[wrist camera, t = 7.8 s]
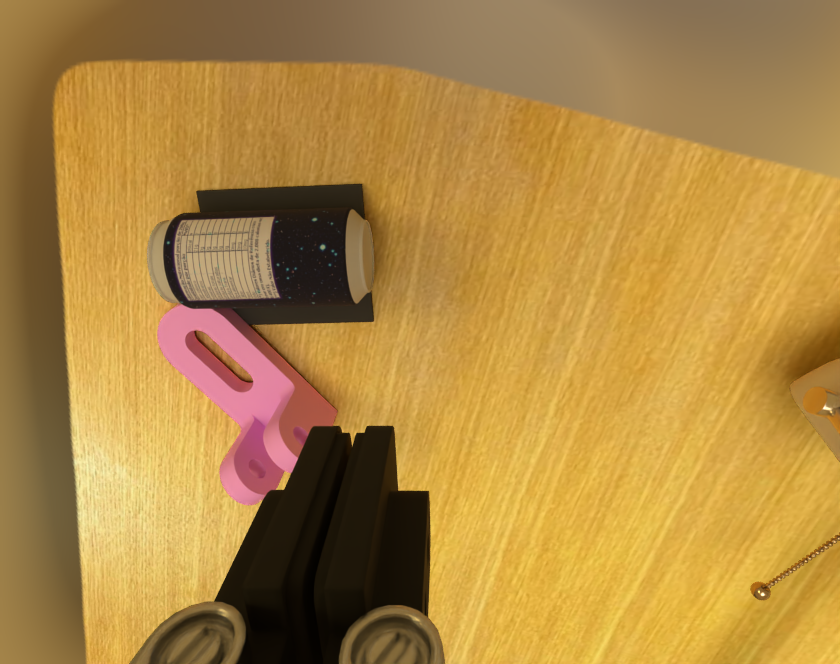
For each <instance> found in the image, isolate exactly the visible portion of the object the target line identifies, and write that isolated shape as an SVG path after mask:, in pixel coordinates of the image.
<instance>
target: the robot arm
mask: <svg viewBox="0 0 840 664" xmlns="http://www.w3.org/2000/svg"><path fill="white" fill-rule="evenodd" d="M429 577H430V501H429V491H398V481H397V465H396V448H395V433H394V427H393V426H367V427H366V430H365V433H356V436H355V439H354V443H353V446H352V444H351V436H350V434H349V433H342V430H341V427H340V426H313V427H312V428H311V430H310V432H309V434H308V437H307V439H306V441H305V444H304V446H303V448H302V450H301V453H300V455H299V457H298V460H297V462H296V464H295V466H294V469H293V471H292V473H291V476H290V478H289V480H288V482H287V485H286V487H285V489H284V490H270V491H269V492H268V493H267V494H266V496H265V497H264V499H263V501H262V503H261V505H260V507H259V510H258V512H257V514H256V516H255V518H254V520H253V522H252V524H251V526H250V528H249V530H248V532H247V534H246V536H245V539H244V541H243V543H242V545H241V547H240V549H239V551H238V553H237V555H236V557H235V559H234V561H233V563H232V566H231V568H230V570H229V572H228V574H227V576H226V578H225V580H224V582H223V584H222V586H221V588H220V590H219V592H218V595H217V597H216V599H215V601H214V602H203V603H199V604H195V605H191V606H189V607H187V608H185V609H183V610H181V611H179V612H176V613H175V614H173V615H172V616H171V617H169V618H168V619H167V620H165V621H164V622H163V623H161V624H160V625H159V626H158V628H157V629H156V630H155V631H154V632H153V633H152V634H151V635H150V636H149V638H148V639H147V640H146V642H145V643H144V644H143V646H142V647H141V648H140V650H139V651H138V653H137V654H136V655H135V657H134V658H133V659H132V661H131V662H130V663H129V664H445V659H444V653H443V646H442V642H441V639H440V636H439V632H438V630H437V628H436V627H435V626H434V624H433V623H432V622H431V620H430V619H429V618H428V603H429Z"/></svg>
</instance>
